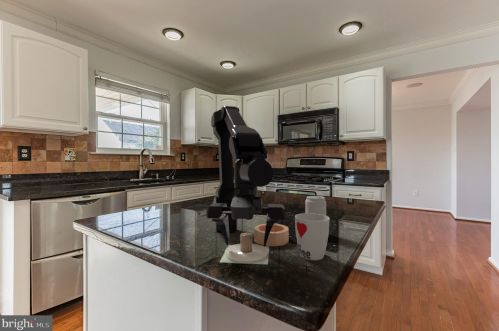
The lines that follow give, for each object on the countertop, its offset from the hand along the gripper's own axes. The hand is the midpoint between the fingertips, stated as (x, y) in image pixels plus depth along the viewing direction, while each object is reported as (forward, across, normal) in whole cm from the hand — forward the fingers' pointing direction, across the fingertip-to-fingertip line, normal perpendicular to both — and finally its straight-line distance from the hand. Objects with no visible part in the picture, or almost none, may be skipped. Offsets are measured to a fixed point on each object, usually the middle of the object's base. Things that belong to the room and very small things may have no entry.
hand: (246, 245), depth 60 cm
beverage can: (+3, +20, +19) cm, 28 cm away
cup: (+3, +16, 0) cm, 16 cm away
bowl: (+3, +6, +11) cm, 13 cm away
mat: (+3, 0, 0) cm, 3 cm away
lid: (+2, 0, 0) cm, 2 cm away
